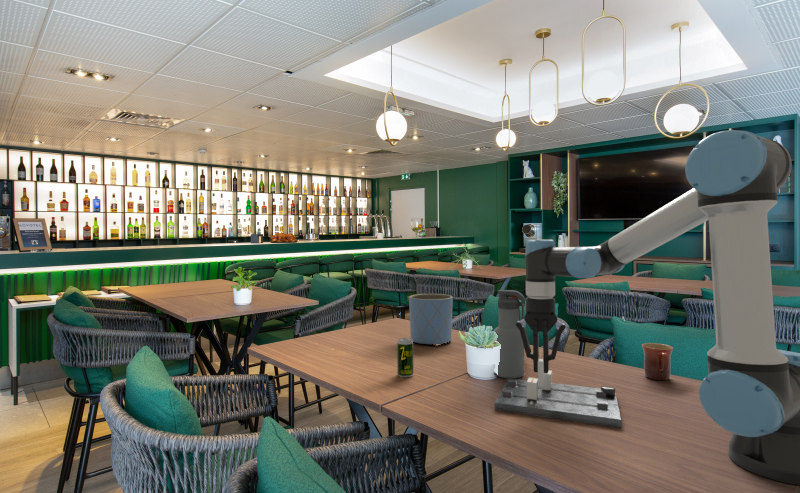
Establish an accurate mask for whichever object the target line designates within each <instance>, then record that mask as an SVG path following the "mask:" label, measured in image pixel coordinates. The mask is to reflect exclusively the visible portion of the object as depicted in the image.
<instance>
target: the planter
mask: <svg viewBox="0 0 800 493" xmlns="http://www.w3.org/2000/svg"><path fill="white" fill-rule="evenodd" d="M453 299H454V297H453V295H450V294H443V293H418V294H417V293H416V294H412V295H410V296H409V297H408V300H409V301H408V302H409V304H408V305H409V306H408V308H409V309H408V310H409V327H410V328H409V330H410V338H411V339H413V342H414V343H417V344H421V345H422V344H424V345H432V344H433V346H434V345H436V344H443V343H445V344H447V342H448V343H450V342H451V341H452V336H453V334H452V333H453V331H452V330H453V305H454V304H453V302H454V300H453ZM449 341H450V342H449ZM443 345H444V344H443Z"/></svg>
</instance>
